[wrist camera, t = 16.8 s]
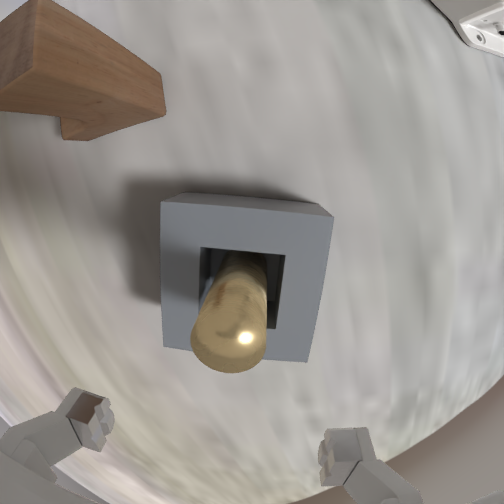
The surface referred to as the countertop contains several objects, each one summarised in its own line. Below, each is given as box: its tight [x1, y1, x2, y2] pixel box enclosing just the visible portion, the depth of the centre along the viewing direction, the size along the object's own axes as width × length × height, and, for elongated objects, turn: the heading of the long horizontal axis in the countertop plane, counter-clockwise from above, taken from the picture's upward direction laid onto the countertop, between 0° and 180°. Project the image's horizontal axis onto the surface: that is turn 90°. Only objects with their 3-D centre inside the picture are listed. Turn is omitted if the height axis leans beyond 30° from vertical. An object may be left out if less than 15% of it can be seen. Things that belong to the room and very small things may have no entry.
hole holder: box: [160, 192, 334, 362], centre depth 25 cm, size 12×12×6 cm
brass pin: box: [190, 250, 267, 373], centre depth 21 cm, size 4×4×12 cm
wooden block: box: [0, 0, 166, 141], centre depth 16 cm, size 9×4×18 cm, turn 99°
